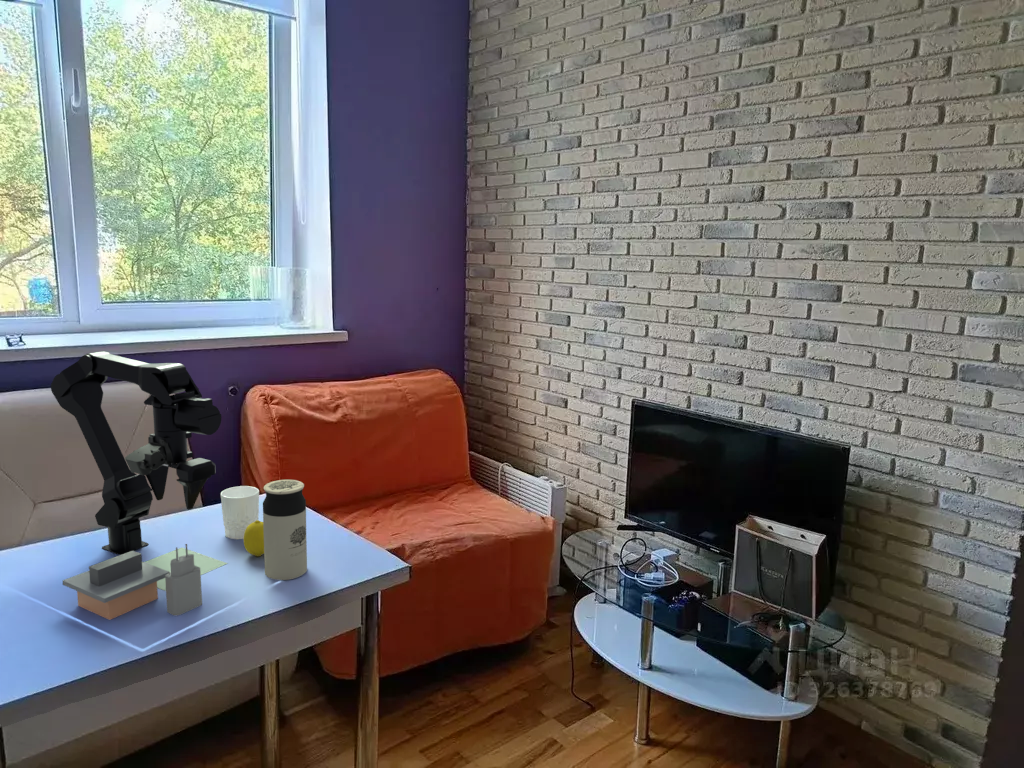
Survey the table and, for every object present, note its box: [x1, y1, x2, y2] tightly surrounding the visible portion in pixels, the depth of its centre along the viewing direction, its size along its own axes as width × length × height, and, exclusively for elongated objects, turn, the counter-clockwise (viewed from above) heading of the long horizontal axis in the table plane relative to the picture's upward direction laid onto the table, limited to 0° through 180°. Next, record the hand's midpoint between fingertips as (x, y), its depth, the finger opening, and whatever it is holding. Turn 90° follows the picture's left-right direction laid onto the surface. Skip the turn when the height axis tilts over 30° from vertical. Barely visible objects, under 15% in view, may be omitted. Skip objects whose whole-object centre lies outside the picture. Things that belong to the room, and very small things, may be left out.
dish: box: [76, 581, 159, 621], centre depth 128 cm, size 9×9×4 cm
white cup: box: [220, 485, 260, 540], centre depth 159 cm, size 8×8×10 cm
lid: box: [62, 550, 169, 603], centre depth 127 cm, size 12×12×4 cm
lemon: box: [243, 519, 264, 558], centre depth 148 cm, size 6×6×8 cm
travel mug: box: [262, 479, 308, 581], centre depth 141 cm, size 8×8×18 cm
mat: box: [144, 547, 229, 592], centre depth 142 cm, size 14×14×1 cm
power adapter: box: [165, 543, 203, 617], centre depth 126 cm, size 3×5×12 cm, turn 149°
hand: (174, 504), depth 144 cm, fingers open, 9 cm apart
